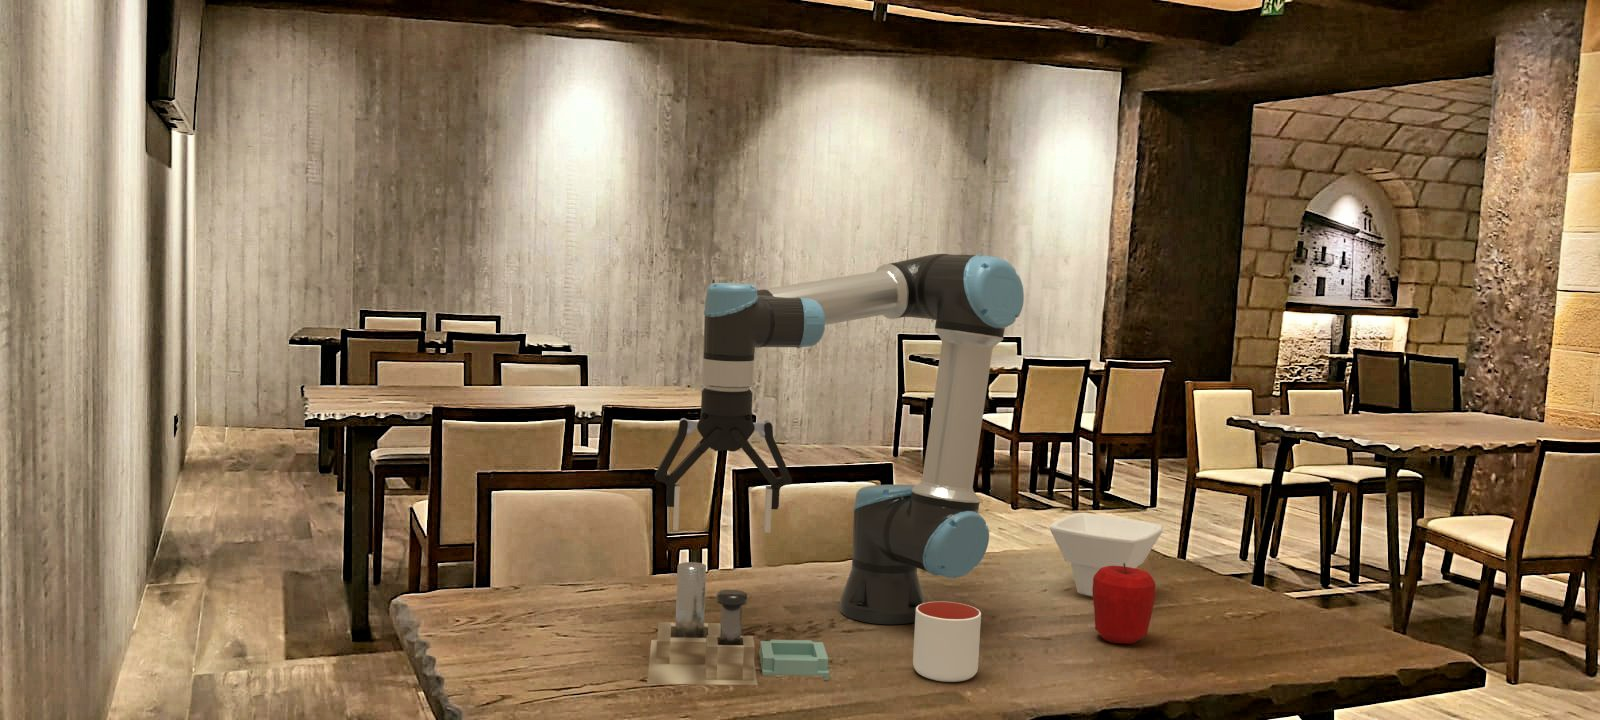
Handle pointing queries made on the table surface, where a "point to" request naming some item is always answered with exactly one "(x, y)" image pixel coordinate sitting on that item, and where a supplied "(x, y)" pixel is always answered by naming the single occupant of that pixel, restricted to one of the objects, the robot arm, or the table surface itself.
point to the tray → (793, 658)
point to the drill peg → (690, 600)
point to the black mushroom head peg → (731, 615)
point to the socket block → (700, 658)
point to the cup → (946, 641)
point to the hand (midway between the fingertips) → (721, 529)
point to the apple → (1122, 603)
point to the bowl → (1102, 544)
